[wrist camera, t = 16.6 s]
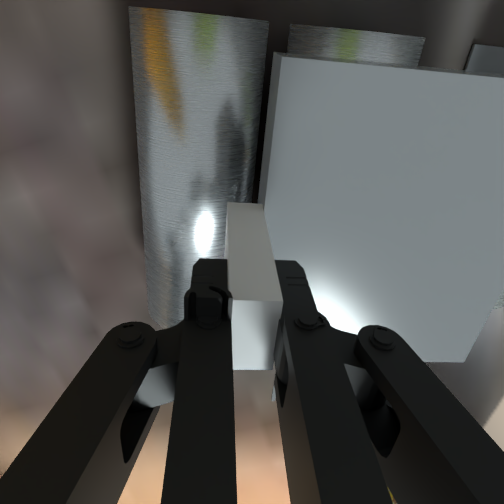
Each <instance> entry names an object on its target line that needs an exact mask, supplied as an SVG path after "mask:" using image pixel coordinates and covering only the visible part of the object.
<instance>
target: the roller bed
mask: <svg viewBox="0 0 504 504" xmlns="http://www.w3.org/2000/svg"><path fill="white" fill-rule="evenodd" d="M128 9H129V24H130V39H131V54H132V69H133V84H134V100H135V115H136V130H137V145H138V160H139V175H140V191H141V206H142V221H143V236H144V251H145V266H146V282H147V297H148V310H149V314H150V316H151V318H152V319H153V320H154V321H155V322H156V323H157V324H158V325H159V326H161V327H162V328H164V329H167V328H170V327H173V326H175V325H177V324H178V323H180V322H181V321H182V320H183V319H184V295H185V293H186V291H188V290H189V289H190V285H191V277H192V269H193V265H194V264H195V263H196V262H197V261H198V259H199V258H211V259H224V254H225V236H226V217H227V202H235V203H252V195H253V184H254V174H255V164H256V153H257V143H258V133H259V122H260V112H261V102H262V91H263V81H264V71H265V60H266V50H267V40H268V29H269V21H263V20H256V19H248V18H239V17H230V16H222V15H213V14H203V13H194V12H185V11H175V10H165V9H155V8H144V7H132V6H128ZM424 42H425V38H424V37H417V36H408V35H400V34H391V33H382V32H372V31H362V30H353V29H343V28H333V27H322V26H311V25H300V24H290V31H289V39H288V47H287V53H291V54H301V55H311V56H322V57H332V58H342V59H352V60H362V61H373V62H383V63H393V64H403V65H413V66H418V63H419V59H420V56H421V52H422V49H423V45H424Z"/></svg>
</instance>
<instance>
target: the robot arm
mask: <svg viewBox="0 0 504 504" xmlns="http://www.w3.org/2000/svg"><path fill="white" fill-rule="evenodd" d="M274 361H275V368H276V374H275V380H274V386H273V392H272V400H271V401H275V398H276V401H277V408H278V416H279V423H280V430H281V437H282V444H283V452H284V459H285V466H286V473H287V480H288V488H289V495H290V502H291V504H393V502H392V499H391V496H390V494H389V491H388V489H389V490H390V492H391V494H392V496H393V497H394V499H395V501H396V502H397V504H504V452H503V451H502V449H501V448H500V447H499V446H498V445H497V444H496V443H495V442H494V440H493V439H492V438H491V437H490V436H489V435H488V434H487V433H486V431H485V430H484V429H483V428H482V427H481V426H480V425H479V424H478V422H477V421H476V420H475V419H474V418H473V417H472V416H471V415H470V413H469V412H468V411H467V410H466V409H465V408H464V407H463V406H462V404H461V403H460V402H459V401H458V400H457V399H456V398H455V397H454V395H453V394H452V393H451V392H450V391H449V390H448V389H447V388H446V386H445V385H444V384H443V383H442V382H441V381H440V380H439V379H438V377H437V376H436V375H435V374H434V373H433V372H432V371H431V370H430V368H429V367H428V366H427V365H426V364H425V363H424V362H423V361H422V359H421V358H420V357H419V356H418V355H417V354H416V353H415V352H414V350H413V349H412V348H411V347H410V346H409V345H408V344H407V343H406V341H405V340H404V339H403V338H402V337H401V336H400V335H399V334H397V333H396V332H395V331H393V330H391V329H389V328H387V327H384V326H380V325H368V326H365V327H362V328H361V330H360V331H359V332H358V335H357V334H353V333H349V332H345V331H341V330H338V329H336V328H334V327H332V326H330V323H329V321H328V320H327V318H326V317H325V316H324V315H322V314H321V313H320V312H318V310H317V307H316V304H315V301H314V298H313V295H312V292H311V289H310V287H309V283H308V280H307V277H306V274H305V271H304V268H303V267H302V266H301V265H300V264H299V263H298V262H297V261H295V260H274V256H273V251H272V247H271V242H270V238H269V233H268V228H267V224H266V219H265V215H264V210H263V205H262V204H255V203H235V202H227V217H226V236H225V254H224V259H211V258H199V259H198V261H197V262H196V263H195V264H194V265H193V269H192V277H191V285H190V289H189V290H188V291H186V293H185V295H184V319H183V320H182V321H181V322H180V323H178V324H177V325H175V326H173V327H170V328H167V329H163V330H159V331H155V330H154V329H153V328H152V327H151V326H150V325H148V324H145V323H143V322H127V323H122V324H120V325H118V326H116V327H114V328H112V329H111V330H110V331H109V332H108V333H107V334H106V335H105V337H104V338H103V340H102V341H101V342H100V344H99V345H98V346H97V348H96V349H95V351H94V352H93V353H92V355H91V356H90V357H89V359H88V360H87V361H86V363H85V364H84V366H83V367H82V368H81V370H80V371H79V372H78V374H77V375H76V376H75V378H74V379H73V381H72V382H71V383H70V385H69V386H68V387H67V389H66V390H65V391H64V393H63V394H62V396H61V397H60V398H59V400H58V401H57V402H56V404H55V405H54V406H53V408H52V409H51V411H50V412H49V413H48V415H47V416H46V417H45V419H44V420H43V421H42V423H41V424H40V426H39V427H38V428H37V430H36V431H35V432H34V434H33V435H32V436H31V438H30V439H29V441H28V442H27V443H26V445H25V446H24V447H23V449H22V450H21V451H20V453H19V454H18V456H17V457H16V458H15V460H14V461H13V462H12V464H11V465H10V467H9V468H8V469H7V471H6V472H5V473H4V475H3V476H2V477H1V479H0V504H117V502H118V500H119V498H120V496H121V494H122V491H123V489H124V487H125V485H126V482H127V480H128V478H129V476H130V473H131V471H132V469H133V467H134V464H135V462H136V460H137V458H138V455H139V453H140V451H141V449H142V447H143V444H144V442H145V440H146V438H147V435H148V433H149V431H150V429H151V426H152V424H153V422H154V420H155V417H156V415H157V413H158V411H159V408H160V405H162V404H166V403H169V402H172V401H174V403H173V411H172V419H171V427H170V435H169V443H168V451H167V458H166V466H165V474H164V482H163V490H162V498H161V504H237V484H236V452H235V420H234V388H233V370H272V369H273V363H274ZM387 487H388V488H387Z"/></svg>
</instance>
